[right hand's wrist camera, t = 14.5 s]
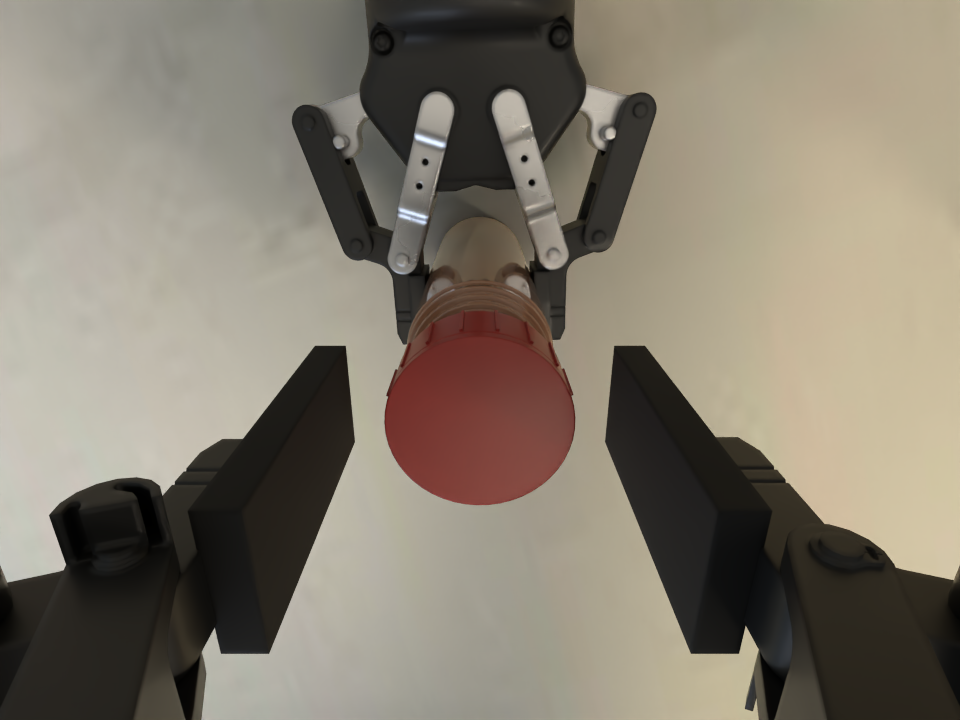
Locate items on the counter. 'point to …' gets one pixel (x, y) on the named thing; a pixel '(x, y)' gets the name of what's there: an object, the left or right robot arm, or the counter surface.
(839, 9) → the counter surface
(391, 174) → the counter surface
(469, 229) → the bottle
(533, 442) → the cap
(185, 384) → the counter surface
